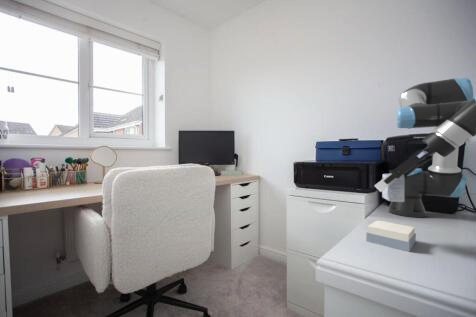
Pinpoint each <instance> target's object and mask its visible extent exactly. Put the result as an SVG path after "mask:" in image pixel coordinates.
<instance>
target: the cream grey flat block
mask: <svg viewBox="0 0 476 317" xmlns="http://www.w3.org/2000/svg"><path fill="white" fill-rule="evenodd" d="M415 228H416V227H415V226H410V225H404V224H400V223H395V222H389V221H383V220H375V221H374V222H372V223H370V224H368V225H367V232H366V236H365V237H366V239H365V241H366V242H369V243H374V244H378V245H381V246H386V247H389V248H393V249H397V250H401V251H405V252H410V251H411V249H412V248H413V246H414V245H415V244H416V242H417V241H416V237H417V234H416V233H415V231H416V230H415Z"/></svg>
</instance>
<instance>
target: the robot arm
mask: <svg viewBox="0 0 476 317" xmlns="http://www.w3.org/2000/svg"><path fill="white" fill-rule="evenodd" d="M398 100H399V101H398V104H399V106H400V107H398V108H397V112H396V127H397V128H398V129H409V130H410V129H418V128H420V129H421V128H433V129H434V130H433V131H434V132H430V133H429V134H427V135H426V136H425V137H423V139H422V143H423V144H425V145H426V146H425V148H423V149H421V148H419V149H417V150H416V151H415V153H414V154H412V155H411V156H410V157H408V158H407V159H406V160H404V161H403V162H401V164H399V165H398V166H397V167H395V168H394V169H390V170H388V172H389V173H387V174H388V175H387V176H386V177H385V178H383V179H382V178H381V180H380V181H378V182H377V183H375V184H374V185H373V186H374V187H375V188H376V190H378V191H379V192H380V193H382V191H383V190H384V189H386V188H387V187H388V186H390V185H391V184H392V183H394V182H395V181H396V180H398V178H400V177H401V176H402V175H404V199H405V201H404V202H392V201H390V204H389V206H388V212H389V213H391V214H394V215H398V216H402V217H409V218H425V217H426V215H427V212H426V209H425V206H424V204H423V200H422V196H423V195H424V196H434V197H435V196H436V197H444V198H459V197H461V196H462V195H463V194H464V193H465V192H464V191H465V189H466V186H467V175H466V173H464V172H462V169H461V168H460V167H458V159H459V149H460V148H459V147H461V146H462V145H464V144H465V143H468V144H470V143H471V142H472V138H473V137H475V136H476V96H474V87H473V83H472V81H471V80H470V79H469V78H467V77H458V78H449V79H443V80H437V81H429V82H422V83H419V84H416V85H413V86H411V87H408V89H405V90H404V92H402V93H401V95H400V96H399V99H398ZM429 161H432V162H431V163H432V164H431V165H430V166H428V168H427V171H423V170H422V168H419V167H421V166H423V165H425V164H426V163H428V162H429Z"/></svg>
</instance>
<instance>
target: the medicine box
mask: <svg viewBox="0 0 476 317" xmlns="http://www.w3.org/2000/svg"><path fill="white" fill-rule="evenodd" d="M388 174H389V173H383V174H382V178H381V180H382V179H383V178H385V177H386V176H387V175H388ZM381 197H382V199H385V200H386V201H388V202H391V201H392V202H404V201H405V199H404V175H402V176H401V177H400V178H398V180H396V181H395V182H394V183H392V184H391V185H390V186H388V187H387V188H386V189H384V190H383V191H382V192H381Z"/></svg>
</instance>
